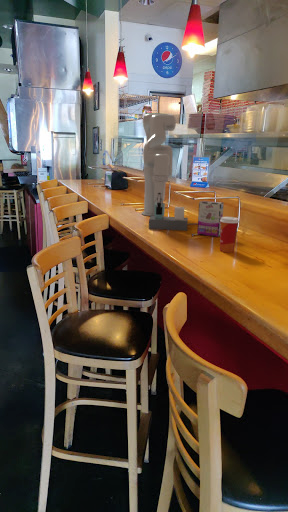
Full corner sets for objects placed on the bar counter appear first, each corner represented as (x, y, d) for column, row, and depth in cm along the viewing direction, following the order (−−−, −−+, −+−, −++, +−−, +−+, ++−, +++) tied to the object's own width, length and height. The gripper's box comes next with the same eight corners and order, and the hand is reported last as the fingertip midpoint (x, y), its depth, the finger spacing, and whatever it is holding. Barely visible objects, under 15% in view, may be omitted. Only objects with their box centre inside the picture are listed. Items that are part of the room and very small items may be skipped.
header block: (150, 224, 203) (151, 205, 199) (187, 226, 200) (188, 206, 197) (148, 228, 193) (149, 207, 190) (187, 230, 191) (188, 209, 188)
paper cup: (222, 247, 160) (225, 215, 156) (239, 250, 155) (242, 218, 151) (213, 251, 154) (216, 218, 150) (230, 254, 149) (233, 220, 145)
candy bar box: (221, 235, 183) (224, 202, 178) (218, 237, 178) (221, 203, 174) (200, 232, 188) (202, 200, 183) (196, 234, 183) (198, 201, 179)
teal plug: (154, 223, 200) (155, 202, 197) (163, 224, 199) (164, 203, 196) (153, 225, 195) (154, 204, 192) (163, 226, 195) (164, 204, 191)
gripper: (155, 177, 199) (153, 210, 204) (151, 180, 182) (150, 216, 188) (168, 177, 198) (167, 211, 203) (166, 180, 182) (165, 217, 187)
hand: (159, 213), depth 195 cm, fingers closed on teal plug, 5 cm apart
